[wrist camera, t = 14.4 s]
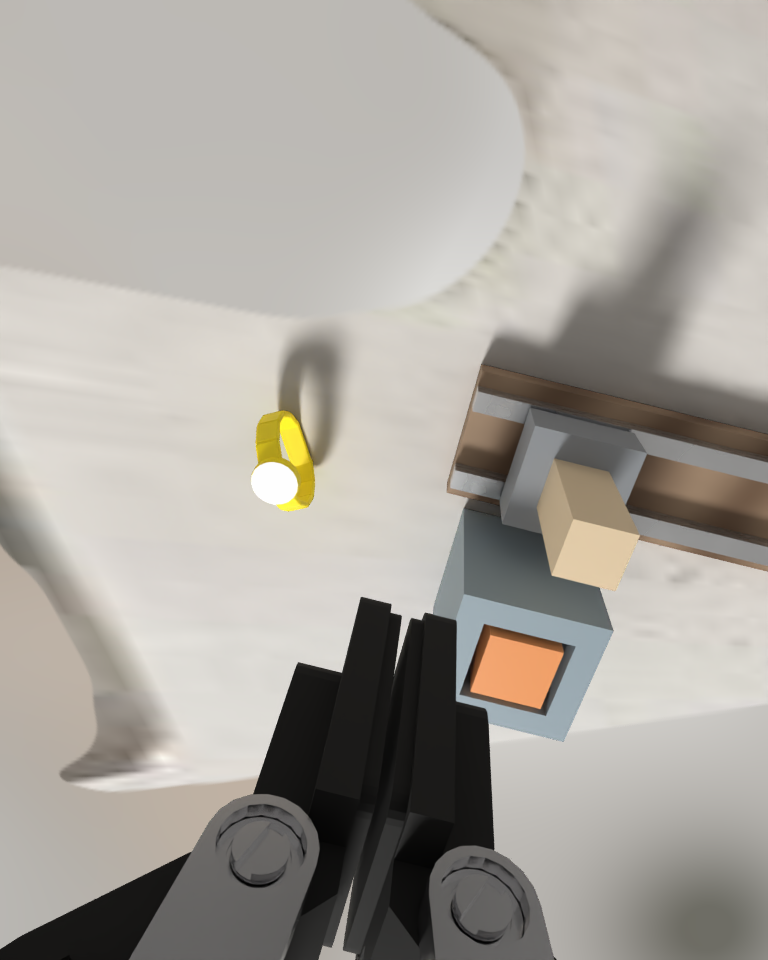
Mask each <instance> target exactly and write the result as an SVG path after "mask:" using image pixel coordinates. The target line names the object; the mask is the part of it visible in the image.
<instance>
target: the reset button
mask: <svg viewBox="0 0 768 960" xmlns="http://www.w3.org/2000/svg"><path fill="white" fill-rule="evenodd" d="M563 654H564V651H563V646H562V643H560V642H556V641H552V640H547V639H543V638H539V637H535V636H531V635H527V634H523V633H519V632H515V631H511V630H507V629H503V628H499V627H495V626H491V625H487V624H484V625H483V628H482V631H481V634H480V637H479V640H478V643H477V645H476V648H475V651H474V654H473V657H472V660H471V663H470V692H473V693H478V694H482V695H486V696H490V697H494V698H498V699H502V700H506V701H510V702H514V703H518V704H522V705H526V706H530V707H534V708H538V709H541V707H542V704H543V702H544V699H545V697H546V695H547V692H548V690H549V688H550V685H551V683H552V680H553V678H554V676H555V673H556V671H557V668H558V666H559V664H560V661H561V659H562V657H563Z"/></svg>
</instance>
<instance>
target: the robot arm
mask: <svg viewBox="0 0 768 960" xmlns="http://www.w3.org/2000/svg"><path fill="white" fill-rule="evenodd" d="M390 612H391V604H388V603H384V602H380V601H376V600H372V599H368V598H364V597H361V599H360V603H359V607H358V611H357V615H356V619H355V623H354V627H353V631H352V635H351V639H350V643H349V647H348V651H347V655H346V659H345V663H344V667H343V671H342V673H340V672H336V671H332V670H328V669H324V668H319V667H315V666H311V665H307V664H303V663H299V662H298V664H297V666H296V669H295V671H294V674H293V677H292V680H291V683H290V686H289V689H288V692H287V695H286V698H285V701H284V704H283V707H282V710H281V713H280V716H279V719H278V722H277V725H276V728H275V731H274V734H273V737H272V740H271V743H270V746H269V749H268V752H267V755H266V758H265V761H264V764H263V767H262V769H261V772H260V775H259V778H258V781H257V784H256V787H255V790H254V793H253V795H248V796H245V797H241V798H238V799H235V800H233V801H231V802H230V803H228V804H227V805H225V806H224V807H222V808H221V809H220V810H219V811H218V812H217V813H216V814H215V816H214V817H213V818H212V819H211V821H210V822H209V823H208V825H207V827H206V828H205V830H204V832H203V833H202V835H201V837H200V839H199V840H198V842H197V844H196V846H195V847H194V849H193V851H192V852H190V853H188V854H186V855H184V856H182V857H180V858H178V859H176V860H174V861H171V862H169V863H167V864H165V865H163V866H161V867H160V868H157V869H155V870H153V871H151V872H149V873H147V874H145V875H143V876H141V877H139V878H137V879H135V880H133V881H131V882H129V883H127V884H125V885H123V886H121V887H119V888H117V889H115V890H113V891H111V892H109V893H107V894H105V895H103V896H101V897H99V898H97V899H95V900H93V901H91V902H89V903H87V904H85V905H83V906H81V907H79V908H77V909H75V910H73V911H71V912H69V913H66V914H65V915H63V916H61V917H58V918H56V919H55V920H53V921H51V922H48V923H46V924H44V925H42V926H40V927H38V928H36V929H34V930H32V931H30V932H28V933H26V934H24V935H22V936H20V937H19V938H17V939H15V940H14V941H12V942H11V943H9V944H8V945H6V946H5V947H3V948H2V949H0V960H318V959H319V955H320V952H321V949H322V945H323V946H327V947H332V945H333V942H334V939H335V936H336V932H337V929H338V926H339V923H340V919H341V916H342V913H343V910H344V906H345V903H346V899H347V897H348V893H349V890H350V887H351V883H352V880H353V887H352V892H351V899H350V906H349V912H348V918H347V925H346V932H345V939H344V947H343V950H344V951H347V952H351V953H355V954H356V959H355V960H556V959H555V957H554V956H553V952H552V948H551V944H550V940H549V936H548V932H547V928H546V924H545V920H544V916H543V912H542V908H541V905H540V901H539V899H538V896H537V894H536V891H535V889H534V887H533V885H532V884H531V882H530V881H529V879H528V878H527V877H526V875H525V874H524V872H523V871H522V870H521V869H520V868H519V867H517V866H516V865H515V864H514V863H513V862H512V861H511V860H510V859H508V858H507V857H505V856H503V855H501V854H499V853H498V852H496V851H494V834H493V833H494V831H493V810H492V790H491V769H490V768H491V767H490V745H489V724H488V713H487V711H486V709H485V708H482V707H478V706H473V705H469V704H465V703H461V702H457V701H456V661H457V621H456V620H453V619H449V618H445V617H441V616H437V615H433V614H429V613H425V614H424V616H423V619H422V620H418V619H413V618H411V620H410V622H409V626H408V629H407V633H406V636H405V639H404V643H403V646H402V650H401V653H400V657H399V660H398V664H397V667H396V670H395V663H396V656H397V648H398V641H399V634H400V626H401V619H402V616H401V615H397V614H393V613H390ZM394 670H395V674H394ZM353 877H354V879H353Z"/></svg>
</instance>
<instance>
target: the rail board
mask: <svg viewBox="0 0 768 960" xmlns="http://www.w3.org/2000/svg"><path fill="white" fill-rule="evenodd" d="M530 408H534V409H538V410H542V411H546V412H550V413H554V414H558V415H562V416H566V417H570V418H574V419H578V420H582V421H586V422H591V423H595V424H599V425H603V426H607V427H611V428H615V429H619V430H623V431H627V432H631V433H634V434H635V435H636V437H637V438H638V440H639V441H640V443H641V444H642V446H643V447H644V449H645V450H646V452H647V455H646V458H645V460H644V462H643V465H642V467H641V469H640V472H639V474H638V477H637V479H636V481H635V484H634V486H633V489H632V491H631V493H630V496H629V498H628V500H627V503H626V505H625V506H626V508H627V510H628V512H629V514H630V516H631V518H632V520H633V522H634V524H635V526H636V528H637V530H638V532H639V534H640V537H639V539H638V540H642V541H646V542H650V543H654V544H658V545H662V546H666V547H670V548H674V549H678V550H682V551H686V552H690V553H694V554H699V555H703V556H707V557H711V558H715V559H719V560H723V561H727V562H731V563H735V564H739V565H743V566H747V567H751V568H755V569H760V570H764V571H768V434H764V433H760V432H756V431H752V430H748V429H744V428H740V427H736V426H731V425H727V424H723V423H719V422H715V421H711V420H707V419H703V418H699V417H695V416H691V415H687V414H683V413H678V412H674V411H670V410H666V409H662V408H658V407H654V406H650V405H646V404H642V403H638V402H634V401H630V400H625V399H621V398H617V397H613V396H609V395H605V394H601V393H597V392H593V391H589V390H585V389H581V388H576V387H572V386H568V385H564V384H560V383H556V382H552V381H548V380H544V379H540V378H536V377H532V376H528V375H523V374H519V373H515V372H511V371H507V370H503V369H499V368H495V367H491V366H487V365H483V364H481V367H480V371H479V374H478V378H477V381H476V385H475V388H474V392H473V395H472V398H471V402H470V405H469V409H468V412H467V416H466V419H465V423H464V426H463V430H462V433H461V437H460V440H459V443H458V447H457V450H456V454H455V457H454V461H453V464H452V468H451V471H450V475H449V478H448V482H447V493H451V494H455V495H459V496H463V497H467V498H471V499H475V500H479V501H483V502H487V503H491V504H495V505H499V506H500V498H501V495H502V492H503V488H504V485H505V482H506V479H507V476H508V473H509V470H510V467H511V464H512V461H513V458H514V455H515V452H516V449H517V446H518V443H519V440H520V437H521V434H522V431H523V428H524V425H525V422H526V419H527V416H528V413H529V410H530Z"/></svg>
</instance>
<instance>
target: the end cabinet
mask: <svg viewBox="0 0 768 960" xmlns="http://www.w3.org/2000/svg"><path fill="white" fill-rule="evenodd" d="M433 615H437V616H441V617H445V618H449V619H453V620H456V621H457V661H456V701H457V702H461V703H465V704H469V705H473V706H478V707H482V708H485V709H486V711H487V713H488V723H489V724H493V725H497V726H501V727H505V728H509V729H513V730H517V731H522V732H526V733H530V734H534V735H538V736H542V737H546V738H550V739H554V740H558V741H562V742H563V741H564V739H565V737H566V735H567V733H568V731H569V728H570V726H571V724H572V722H573V720H574V717H575V715H576V713H577V711H578V709H579V706H580V704H581V702H582V700H583V697H584V695H585V693H586V691H587V689H588V686H589V684H590V682H591V680H592V678H593V675H594V673H595V671H596V669H597V666H598V664H599V662H600V660H601V658H602V655H603V653H604V651H605V649H606V647H607V644H608V642H609V640H610V638H611V635H612V633H613V628H612V625H611V622H610V619H609V616H608V613H607V609H606V606H605V603H604V600H603V597H602V594H601V591H600V588H599V587H596V586H592V585H588V584H584V583H580V582H576V581H572V580H568V579H564V578H560V577H556V576H552V575H551V571H550V566H549V562H548V557H547V553H546V548H545V543H544V539H543V534H540V533H536V532H532V531H528V530H524V529H520V528H516V527H512V526H508V525H504V524H502V519H501V517H497V516H493V515H489V514H485V513H481V512H476V511H472V510H468V509H463V512H462V516H461V519H460V522H459V525H458V529H457V532H456V535H455V538H454V542H453V545H452V548H451V552H450V555H449V558H448V561H447V565H446V568H445V571H444V574H443V578H442V581H441V584H440V588H439V591H438V594H437V597H436V601H435V604H434V608H433ZM484 624H487V625H491V626H495V627H499V628H503V629H507V630H511V631H515V632H519V633H523V634H527V635H531V636H535V637H539V638H543V639H547V640H552V641H556V642H560V643H562V646H563V651H564V654H563V657H562V659H561V661H560V664H559V666H558V668H557V671H556V673H555V676H554V678H553V680H552V683H551V685H550V688H549V690H548V692H547V695H546V697H545V699H544V702H543V704H542V707H541V709H538V708H534V707H530V706H526V705H522V704H518V703H514V702H510V701H506V700H502V699H498V698H494V697H490V696H486V695H482V694H478V693H473V692H470V663H471V660H472V657H473V654H474V651H475V648H476V645H477V643H478V640H479V637H480V634H481V631H482V628H483V625H484Z"/></svg>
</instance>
